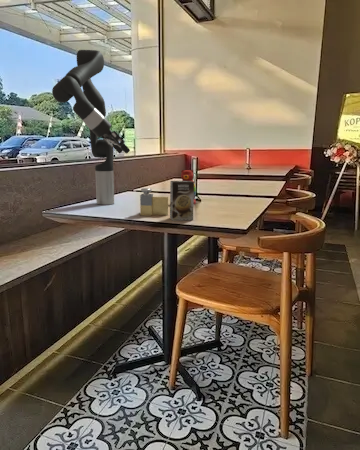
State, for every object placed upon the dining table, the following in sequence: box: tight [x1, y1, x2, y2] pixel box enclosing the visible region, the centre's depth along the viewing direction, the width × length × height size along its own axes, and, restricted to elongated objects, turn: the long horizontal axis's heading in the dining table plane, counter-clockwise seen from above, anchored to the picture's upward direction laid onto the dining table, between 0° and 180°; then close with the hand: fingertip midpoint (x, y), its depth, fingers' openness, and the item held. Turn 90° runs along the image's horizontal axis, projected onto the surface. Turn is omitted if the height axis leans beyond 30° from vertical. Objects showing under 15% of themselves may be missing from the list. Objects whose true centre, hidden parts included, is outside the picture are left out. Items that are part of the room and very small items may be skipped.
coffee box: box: [169, 180, 195, 222], centre depth 153 cm, size 9×6×16 cm
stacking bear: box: [180, 169, 197, 205], centre depth 198 cm, size 11×10×18 cm
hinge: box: [139, 193, 169, 217], centre depth 167 cm, size 12×12×9 cm
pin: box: [140, 187, 153, 195], centre depth 164 cm, size 5×5×12 cm
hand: (124, 152), depth 154 cm, fingers open, 8 cm apart
